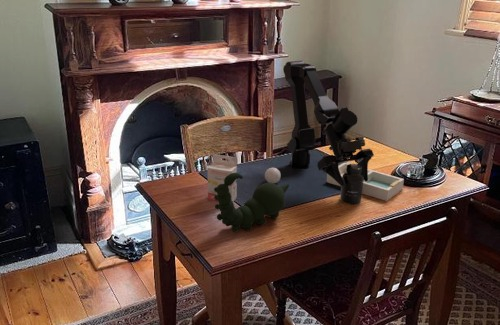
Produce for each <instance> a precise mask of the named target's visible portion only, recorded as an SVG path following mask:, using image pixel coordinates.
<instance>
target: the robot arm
mask: <svg viewBox="0 0 500 325" xmlns="http://www.w3.org/2000/svg"><path fill="white" fill-rule="evenodd" d="M283 73H284V77H285V81H286V82H287V83H288V85H289V87H290V91H291V92H290V93H291V101H292V102H291V103H292V110H293V116H294V117H293V118H294V127H293V128H292V131H291V138H290V140H289V141H288V142H287V143H286V146H287V150H288V151H289V152H290V153H291V157H290V161H289V163H290V166H291V168H292V169H298V168H299V169H305V168H306V169H309V168H310V166H309V165H310V164H311V154H310V151H313V150H314V147H315V144H316V132H315V129H314V128H313V127H311V125H310V124H309V120H308V119H309V118H308V117H309V116H308V109H307V107H308V106H307V100H306V91H305V86H306V88H307V91H308V92H309V95H310V97H311V99H312V101H313V104H314V110H313V113H314V116H315V120H316V122H317V123H318V124H320V125H326V126H324V127H323V130H322V133H321V134H322V136H323V135H326V137H327V140H328V142H329V145H330V146H329V147H328V149H329V150H330V151H332V153H333V154H331V155H330V154H329V155H325V156H323V157H321V159H320V160H319V161H318V162H317V165H316V167H317V169H318V171H321V172H323V173H326V175H327V174H328V175H330V176H331V177H332V178H333V179H334V180H336V181H337V182H338V183H339V184H340V185H341V186H344V182H343V179H342V177H341V174H340V172H339V169H338V166H339V164H343V163H348V162H353V161H354V162H355V164H358V165H360V166H361V167H362V173H361V174H362V175H363V177H364V180H365V181H368V169H369V168H368V167H369V166H368V165H369V161H370V160H371V159H372V158H373V157H374V156H375V154H374V152H373V150H372V149H371V148H365V149H363V147H365V145H366V141H365V139H364V137H363V136H357V137H355V139H354V140H352V141H351V138H349V137H348V138H347V136H346V134H347V133H349V131H350V130H352V129H353V127H355V126H356V125H357V123H358V117H357V114H356V113H354V111H352V110H349V108H348V107H346V106H345V107H342V108H340V109H339V107H338V106H337V105H336V102H334V101H333V100H332V99H331V98H329V96H328V94H327V93H326V91H325V89H324V87H323V84H322V82H321V80H320V78H319V76H318V73H317V68H316V67H315V65H312V64H311V63H306V62H305V61H304V60H294V61H287V62H286V63H285V64H284V66H283ZM327 124H328V125H327ZM357 150H358V152H357ZM341 186H340V187H341Z"/></svg>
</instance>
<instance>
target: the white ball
mask: <svg viewBox="0 0 500 325" xmlns="http://www.w3.org/2000/svg"><path fill="white" fill-rule="evenodd" d="M281 175H282V174H281V171H280V170H279V169H278V168H277V167H269V168H268V169H266V171H265V172H264V179H265V181H266V183H273V184H277V183H278V182H279V181H280V180H281Z"/></svg>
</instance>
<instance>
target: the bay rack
mask: <svg viewBox="0 0 500 325" xmlns="http://www.w3.org/2000/svg"><path fill="white" fill-rule="evenodd" d="M348 164H349V163H348V162H344V163H340V164H338V169H339V172H340V174H341V177H342V176H343V174H344V173H345V172H346V168H347V165H348ZM404 181H405V179H404V178H402V177H398V176H394V175H391V174H388V173H383V172H381V171H377V170H373V169H370V168H368V181H365V180H364V182H363V190H362V195H363V194H364V195H365V196H370V197H373V198H376V199H379V200H383V201H386V202H388V201H389V200H390V199H391V198H393V197H395V196H396V195H397V194H399V193H400V192H401V191H403V188H404ZM326 183H329V184H332V185H335V186H338V187H341V185H340V184H339V183H338V182H337V181H336V180H334V179H333V178H332V177H331V176H330V175H328V174H327V173H326Z"/></svg>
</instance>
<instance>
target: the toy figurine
mask: <svg viewBox="0 0 500 325" xmlns="http://www.w3.org/2000/svg"><path fill="white" fill-rule="evenodd" d="M239 179H240V180H242V179H244V177H243V175H242V174H241V173H239V172H237V173H231V174H229V175H228V176H226V177H225V179H224V184H220V185H218V186H217V187H215V188H214V191H215V192H217V194H218V195H215V196H214V198H215V200H218V203H216V204H215V205H214V207H215V209H216V210H219V211H220V213H218V214H217V215H216V219H217V221H221V222H222V224H223V225H225V226H226V227H230V226H231V228H232V231H234V232H235V233H236V232H238V231H240V228H244V229H245V230H246V231H247V232H248V231H249V232H250V231H253V224H254V223H257V224H258V225H259V226H264V225H265V224H266V222H267V221H266V218H265V217H266V216H267V217H269V218H271V219H276V218H278V217H279V215H280V212H281V211H282V210H284V209H285V203H286V197H285V196H286V195H285V194H286V192H287V191H288V188H289V187H290V184H283V185H278V184H277V183H269V182H266V183H262V184H260V185H259V186H257V187H256V188H255V190H254V191H253V194H252V198H249V199H248V200H246V202H245V203H244V204H243V205H241V206H240V205H239V207H237V208H236V207H235V206H234V205H235V204H234V202H233V201H232V200H231V194H230V193H229V187H228V186H230V185H231V184H233V183H234V181H235V180H239Z"/></svg>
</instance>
